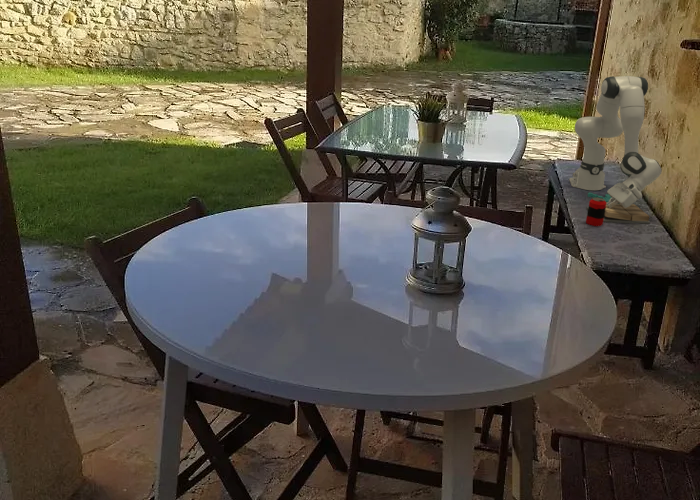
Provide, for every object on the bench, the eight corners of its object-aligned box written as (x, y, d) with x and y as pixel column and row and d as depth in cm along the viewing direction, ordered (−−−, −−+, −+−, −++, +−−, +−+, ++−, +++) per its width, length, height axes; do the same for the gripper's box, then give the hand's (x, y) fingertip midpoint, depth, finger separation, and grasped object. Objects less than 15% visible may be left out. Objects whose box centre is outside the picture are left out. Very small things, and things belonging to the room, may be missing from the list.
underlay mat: (586, 208, 341) (586, 206, 340) (633, 210, 341) (633, 208, 341) (599, 222, 322) (600, 220, 322) (649, 223, 322) (650, 222, 322)
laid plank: (617, 208, 339) (618, 203, 339) (633, 209, 340) (634, 204, 339) (631, 220, 323) (632, 215, 322) (648, 221, 323) (649, 216, 322)
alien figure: (592, 207, 344) (633, 211, 340) (592, 203, 343) (634, 207, 340) (587, 196, 362) (626, 200, 359) (588, 192, 361) (627, 196, 358)
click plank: (593, 204, 339) (594, 200, 338) (617, 208, 339) (618, 203, 339) (605, 216, 322) (607, 212, 321) (630, 220, 323) (632, 215, 322)
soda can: (591, 226, 316) (596, 202, 311) (582, 221, 322) (586, 197, 318) (605, 226, 318) (610, 201, 313) (596, 220, 324) (600, 196, 320)
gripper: (619, 176, 335) (596, 195, 338) (635, 188, 315) (611, 208, 319) (626, 185, 336) (603, 204, 340) (643, 198, 317) (619, 217, 321)
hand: (607, 206), depth 329 cm, fingers closed, pressing on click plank
